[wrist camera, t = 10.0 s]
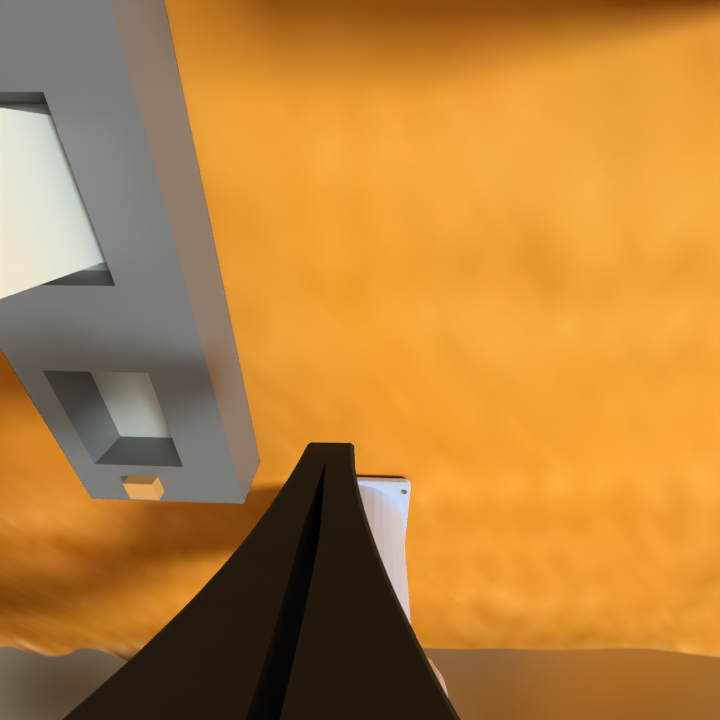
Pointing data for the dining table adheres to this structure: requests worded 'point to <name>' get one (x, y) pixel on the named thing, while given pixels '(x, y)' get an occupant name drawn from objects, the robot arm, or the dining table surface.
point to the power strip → (127, 265)
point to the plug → (39, 206)
